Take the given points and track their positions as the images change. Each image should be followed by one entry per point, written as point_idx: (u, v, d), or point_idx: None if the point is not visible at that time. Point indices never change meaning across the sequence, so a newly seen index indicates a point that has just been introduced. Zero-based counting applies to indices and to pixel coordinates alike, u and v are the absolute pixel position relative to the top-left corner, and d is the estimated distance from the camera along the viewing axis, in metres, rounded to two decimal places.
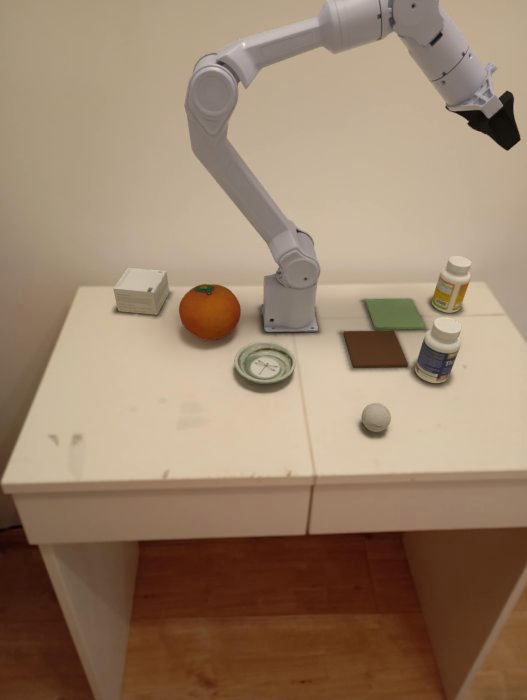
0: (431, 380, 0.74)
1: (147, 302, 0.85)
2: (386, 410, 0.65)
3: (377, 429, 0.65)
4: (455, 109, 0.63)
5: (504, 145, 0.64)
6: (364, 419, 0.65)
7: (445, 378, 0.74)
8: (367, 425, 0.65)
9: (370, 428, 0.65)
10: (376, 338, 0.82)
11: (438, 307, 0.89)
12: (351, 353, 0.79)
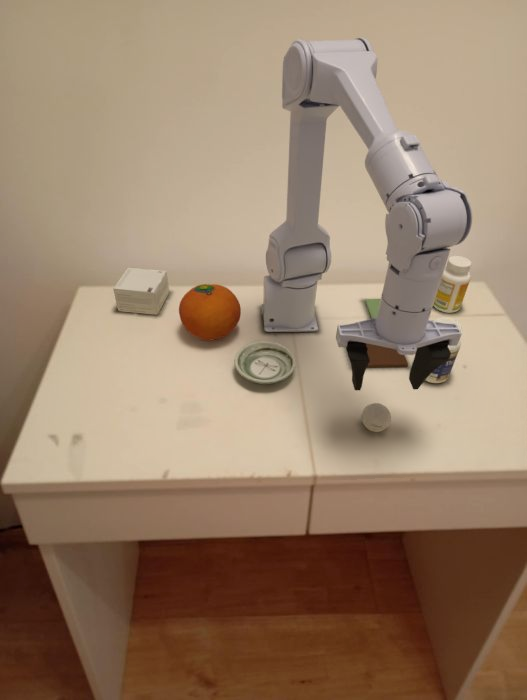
0: (431, 380, 0.74)
1: (147, 302, 0.85)
2: (386, 410, 0.65)
3: (377, 429, 0.65)
4: None
5: (352, 374, 0.61)
6: (364, 419, 0.65)
7: (445, 378, 0.74)
8: (367, 425, 0.65)
9: (370, 428, 0.65)
10: None
11: (438, 307, 0.89)
12: None
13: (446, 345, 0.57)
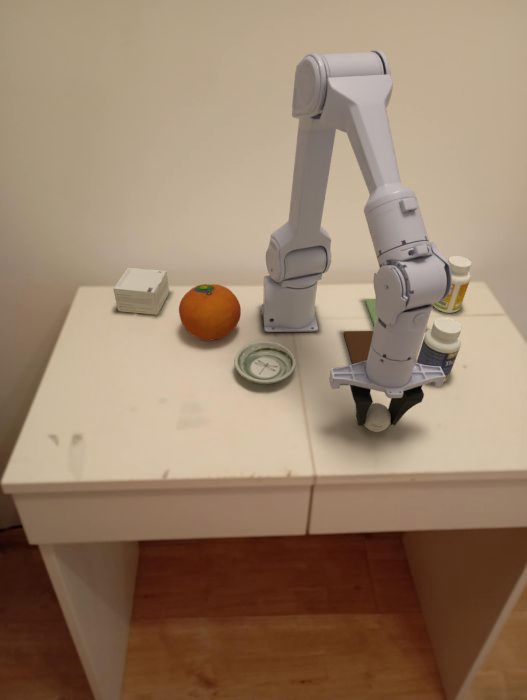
0: None
1: (147, 302, 0.85)
2: (386, 410, 0.65)
3: (377, 429, 0.65)
4: None
5: (356, 410, 0.66)
6: None
7: (445, 378, 0.74)
8: (367, 425, 0.65)
9: (370, 428, 0.65)
10: None
11: (438, 307, 0.89)
12: (351, 353, 0.79)
13: (420, 387, 0.61)
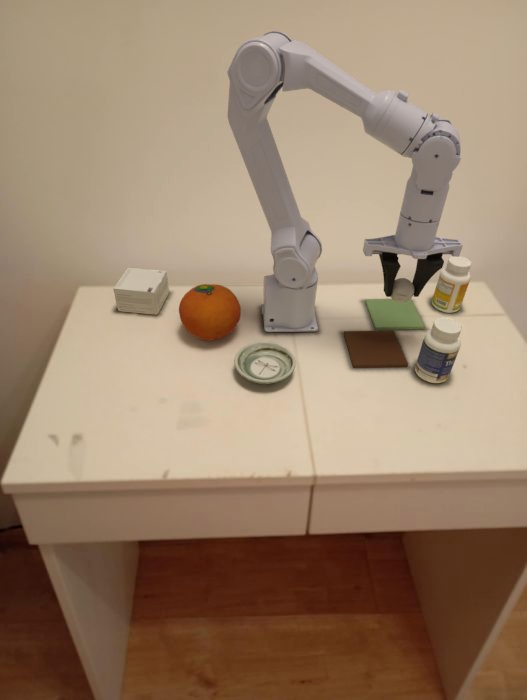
0: (431, 380, 0.74)
1: (147, 302, 0.85)
2: (410, 282, 0.75)
3: (403, 298, 0.75)
4: None
5: (384, 284, 0.77)
6: None
7: (445, 378, 0.74)
8: (394, 295, 0.75)
9: (396, 298, 0.75)
10: (376, 338, 0.82)
11: (438, 307, 0.89)
12: (351, 353, 0.79)
13: (440, 256, 0.72)
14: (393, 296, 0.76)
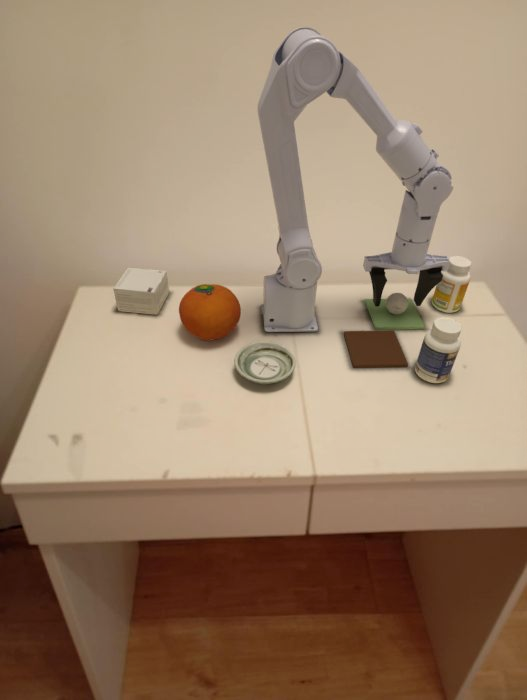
0: (431, 380, 0.74)
1: (147, 302, 0.85)
2: (404, 296, 0.85)
3: (398, 311, 0.85)
4: None
5: (373, 295, 0.86)
6: (388, 304, 0.86)
7: (445, 378, 0.74)
8: (390, 308, 0.86)
9: (392, 310, 0.86)
10: (376, 338, 0.82)
11: (438, 307, 0.89)
12: (351, 353, 0.79)
13: (440, 271, 0.81)
14: (389, 309, 0.86)
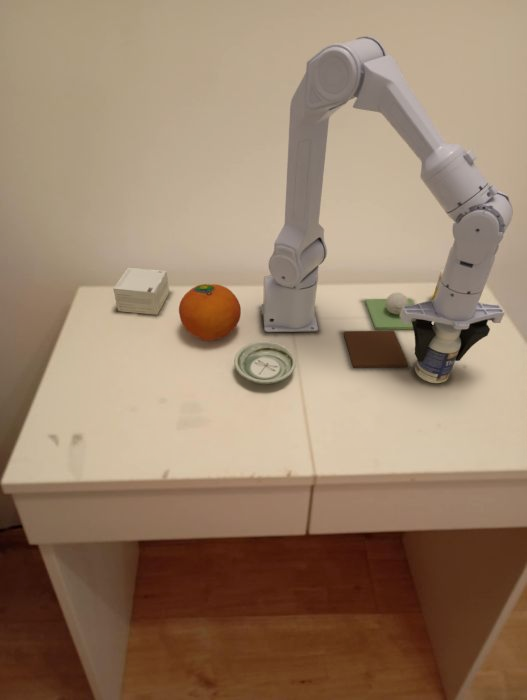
0: (431, 380, 0.74)
1: (147, 302, 0.85)
2: (404, 296, 0.85)
3: (398, 311, 0.85)
4: None
5: (415, 348, 0.74)
6: (388, 304, 0.86)
7: (445, 378, 0.74)
8: (390, 308, 0.86)
9: (392, 310, 0.86)
10: (376, 338, 0.82)
11: None
12: (351, 353, 0.79)
13: (485, 322, 0.69)
14: (389, 309, 0.86)
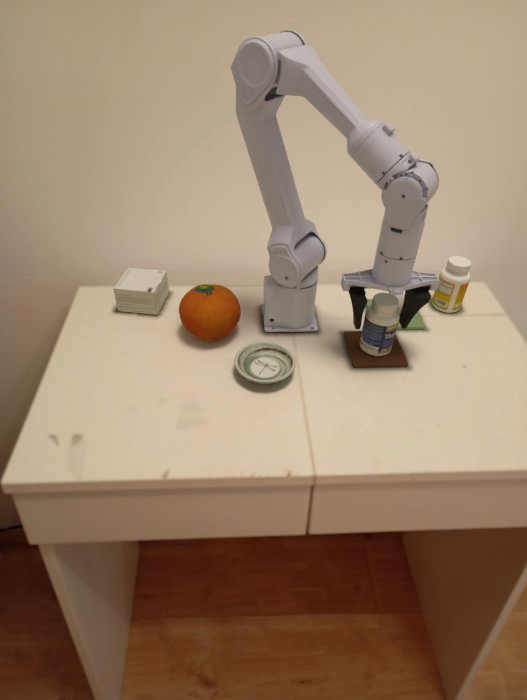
0: (373, 353, 0.77)
1: (147, 302, 0.85)
2: None
3: (398, 311, 0.85)
4: None
5: (353, 316, 0.77)
6: None
7: (386, 351, 0.78)
8: None
9: None
10: None
11: (438, 307, 0.89)
12: (351, 353, 0.79)
13: (427, 290, 0.72)
14: None
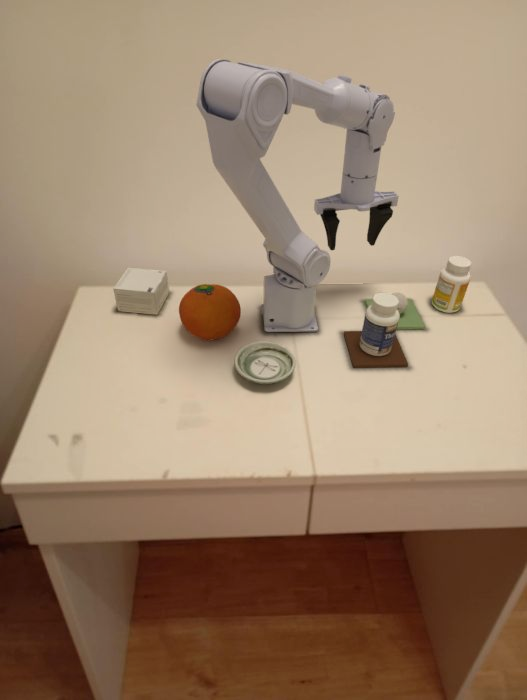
0: (373, 353, 0.77)
1: (147, 302, 0.85)
2: (404, 296, 0.85)
3: (398, 311, 0.85)
4: None
5: (327, 240, 0.86)
6: None
7: (386, 351, 0.78)
8: None
9: None
10: None
11: (438, 307, 0.89)
12: (351, 353, 0.79)
13: (389, 206, 0.82)
14: None
